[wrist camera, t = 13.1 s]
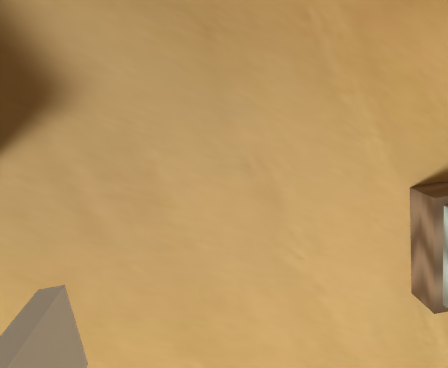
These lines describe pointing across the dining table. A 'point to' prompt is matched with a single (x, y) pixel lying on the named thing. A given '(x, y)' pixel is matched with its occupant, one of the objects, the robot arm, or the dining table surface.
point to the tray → (430, 245)
